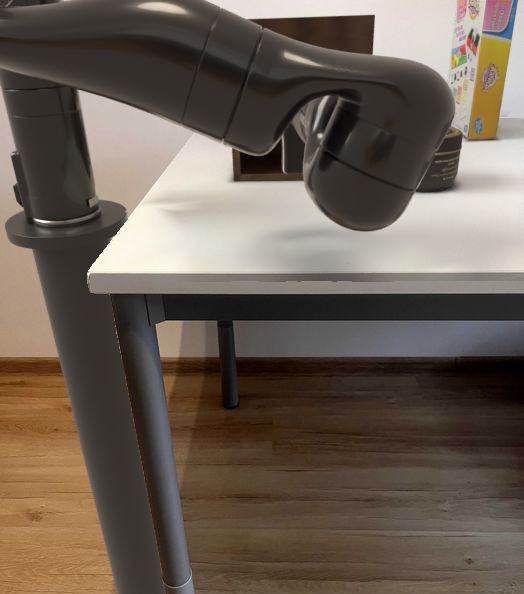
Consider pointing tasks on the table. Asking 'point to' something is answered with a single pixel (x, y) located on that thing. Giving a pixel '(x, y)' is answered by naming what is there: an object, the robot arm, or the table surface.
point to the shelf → (319, 32)
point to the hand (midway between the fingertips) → (307, 83)
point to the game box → (480, 64)
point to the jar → (443, 163)
